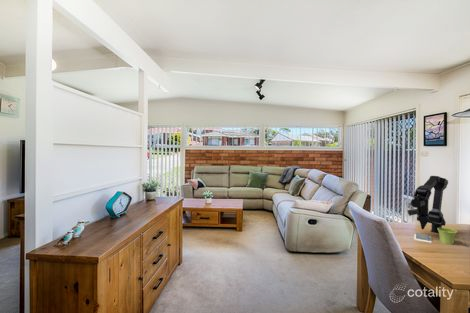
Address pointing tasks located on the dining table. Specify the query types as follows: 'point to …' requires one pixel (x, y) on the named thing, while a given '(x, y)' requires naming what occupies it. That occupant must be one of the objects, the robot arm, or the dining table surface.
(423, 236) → the slate tile
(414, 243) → the dining table surface
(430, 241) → the white rectangular board
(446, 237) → the plant pot
